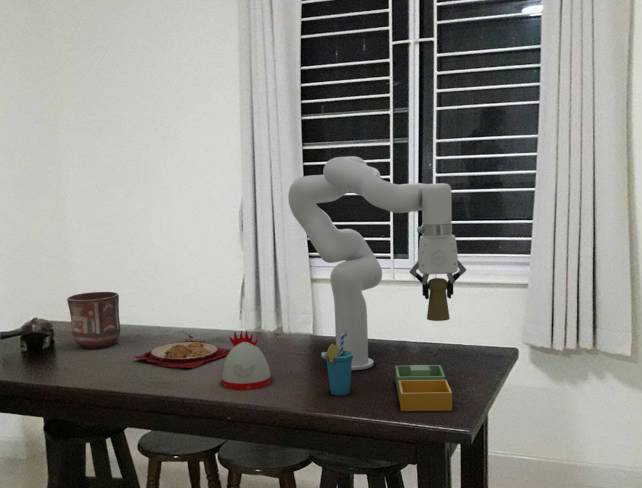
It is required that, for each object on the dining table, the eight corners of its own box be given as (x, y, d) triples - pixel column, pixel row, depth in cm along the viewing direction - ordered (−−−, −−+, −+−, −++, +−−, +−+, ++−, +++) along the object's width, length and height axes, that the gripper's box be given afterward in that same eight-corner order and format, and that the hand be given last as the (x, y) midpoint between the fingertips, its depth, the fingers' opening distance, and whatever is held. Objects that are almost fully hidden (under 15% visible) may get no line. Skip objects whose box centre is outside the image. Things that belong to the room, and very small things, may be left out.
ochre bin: (401, 411, 186) (400, 393, 185) (398, 397, 197) (398, 380, 196) (452, 410, 184) (452, 392, 183) (446, 396, 195) (446, 379, 194)
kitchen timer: (224, 376, 224) (221, 326, 222) (271, 374, 224) (268, 324, 221) (220, 390, 211) (217, 337, 208) (270, 388, 210) (267, 335, 207)
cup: (333, 383, 212) (331, 330, 209) (361, 384, 209) (359, 331, 206) (319, 398, 199) (317, 342, 196) (348, 400, 196) (346, 343, 194)
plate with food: (132, 362, 247) (131, 351, 246) (187, 343, 267) (186, 333, 266) (185, 372, 232) (184, 361, 232) (239, 351, 252) (238, 341, 251)
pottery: (82, 339, 283) (78, 292, 280) (128, 338, 280) (124, 290, 277) (64, 351, 265) (59, 301, 262) (112, 350, 263) (108, 299, 260)
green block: (411, 388, 202) (411, 370, 201) (410, 382, 207) (409, 365, 206) (430, 388, 201) (430, 369, 200) (428, 382, 206) (428, 364, 205)
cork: (450, 320, 202) (450, 280, 200) (427, 321, 203) (426, 280, 201) (448, 316, 208) (448, 276, 206) (426, 316, 209) (425, 277, 207)
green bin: (397, 393, 199) (397, 377, 199) (395, 381, 210) (395, 365, 210) (445, 393, 198) (445, 376, 197) (440, 380, 209) (440, 365, 208)
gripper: (405, 233, 199) (407, 301, 202) (472, 230, 197) (472, 299, 200) (403, 230, 206) (404, 296, 209) (467, 228, 204) (467, 294, 207)
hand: (437, 297), depth 204 cm, fingers closed on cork, 5 cm apart
